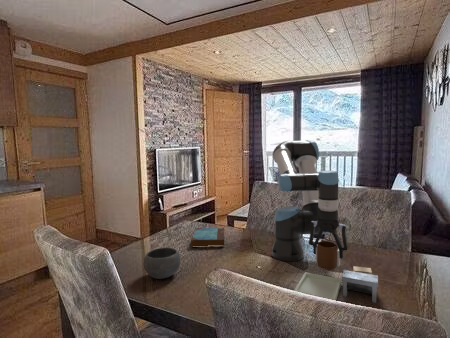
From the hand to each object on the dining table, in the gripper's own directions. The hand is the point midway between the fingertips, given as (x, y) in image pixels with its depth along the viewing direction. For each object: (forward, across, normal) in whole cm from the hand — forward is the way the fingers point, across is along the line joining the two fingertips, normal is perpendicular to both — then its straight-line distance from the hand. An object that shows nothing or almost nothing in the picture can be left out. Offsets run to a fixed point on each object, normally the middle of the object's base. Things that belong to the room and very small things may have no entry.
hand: (327, 263), depth 116 cm
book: (+6, -67, +15) cm, 69 cm away
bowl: (+4, -61, -32) cm, 69 cm away
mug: (+1, -1, 0) cm, 1 cm away
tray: (+4, -1, -16) cm, 16 cm away
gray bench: (+4, +13, -12) cm, 18 cm away
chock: (+4, +13, -5) cm, 14 cm away
